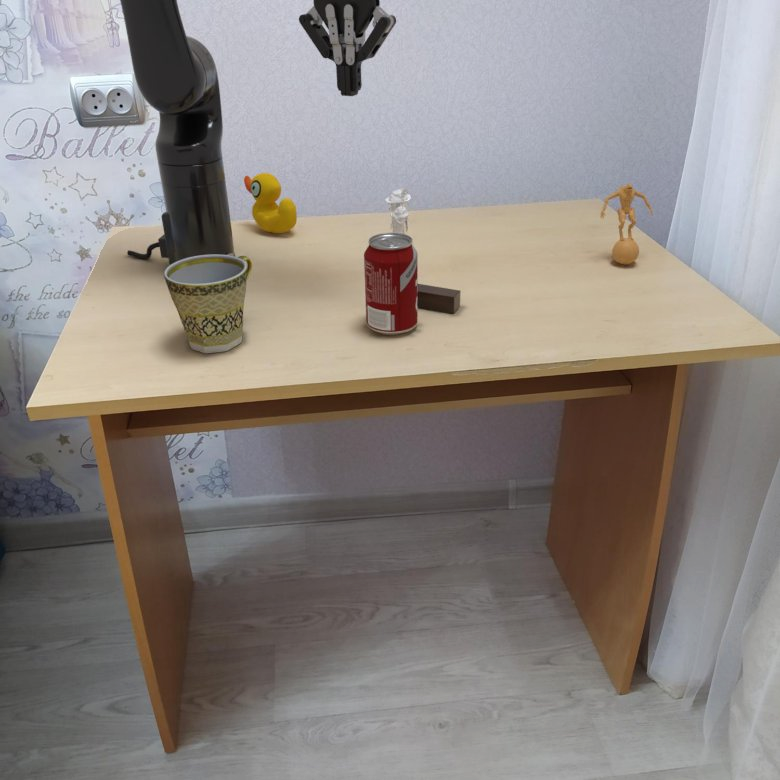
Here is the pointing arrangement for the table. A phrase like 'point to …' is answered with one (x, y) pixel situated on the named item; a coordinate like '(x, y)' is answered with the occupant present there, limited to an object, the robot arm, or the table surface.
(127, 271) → the table surface
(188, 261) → the ceramic cup
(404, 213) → the hat wearing toy figure
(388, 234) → the soda can
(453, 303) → the rail
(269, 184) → the duckling
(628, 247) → the figurine
